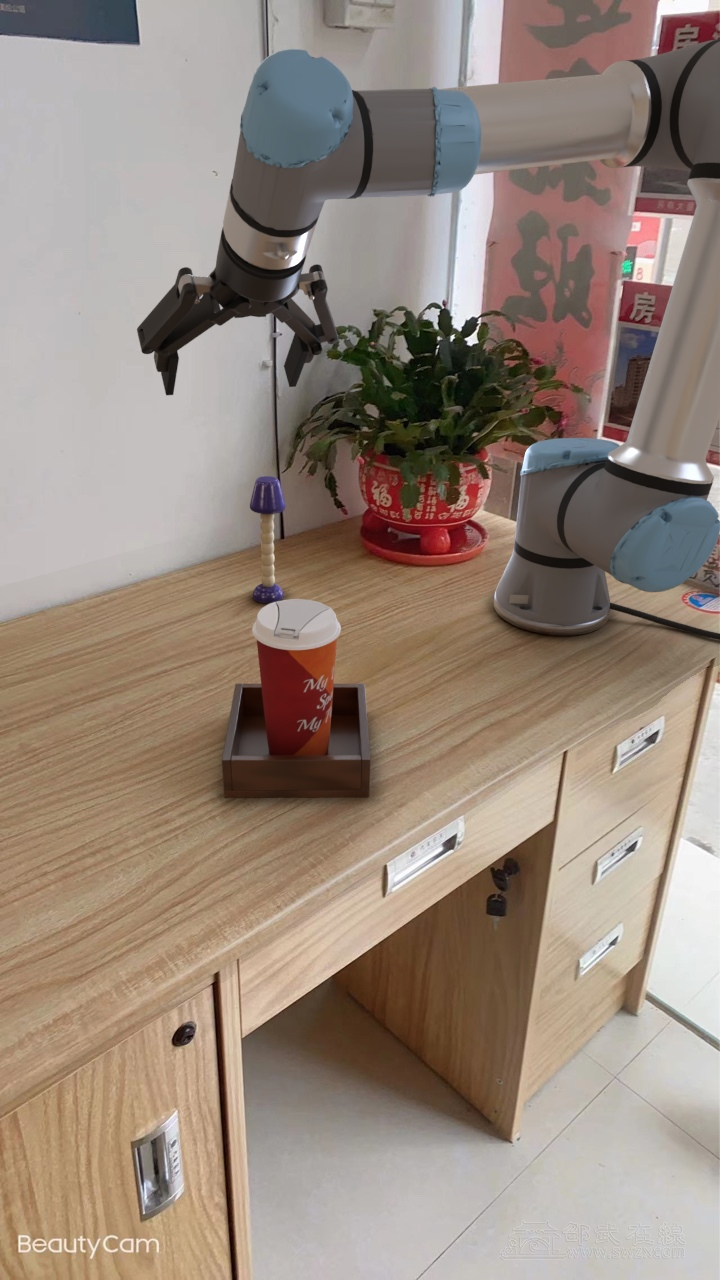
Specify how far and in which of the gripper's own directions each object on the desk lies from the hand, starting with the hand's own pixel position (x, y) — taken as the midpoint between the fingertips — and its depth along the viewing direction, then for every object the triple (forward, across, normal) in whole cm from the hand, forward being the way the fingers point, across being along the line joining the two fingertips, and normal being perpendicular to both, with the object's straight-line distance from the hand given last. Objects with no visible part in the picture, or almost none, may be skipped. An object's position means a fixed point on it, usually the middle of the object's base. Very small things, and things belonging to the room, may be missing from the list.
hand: (229, 380), depth 96 cm
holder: (+4, -1, -41) cm, 41 cm away
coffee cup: (+3, -1, -40) cm, 41 cm away
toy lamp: (+30, +7, -15) cm, 34 cm away
